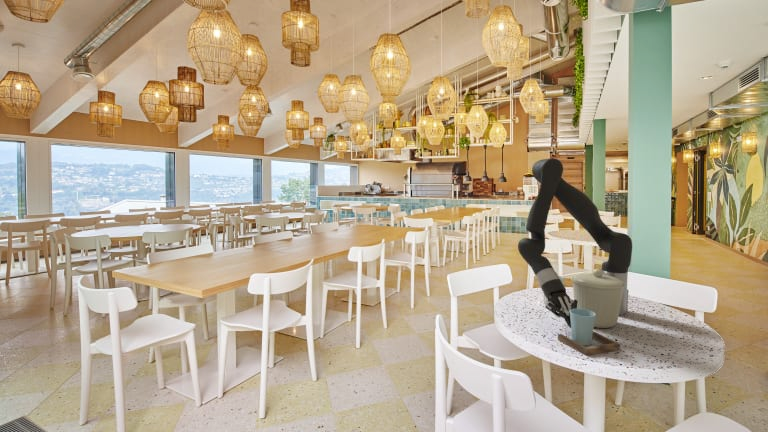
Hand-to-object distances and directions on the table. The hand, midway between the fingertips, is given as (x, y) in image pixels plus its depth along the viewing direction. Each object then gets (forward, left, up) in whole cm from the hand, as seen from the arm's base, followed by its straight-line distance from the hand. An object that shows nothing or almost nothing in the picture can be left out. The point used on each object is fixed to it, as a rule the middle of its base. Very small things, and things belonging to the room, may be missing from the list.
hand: (573, 326), depth 128 cm
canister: (-18, -8, -4) cm, 20 cm away
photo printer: (-20, -33, -4) cm, 39 cm away
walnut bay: (0, +5, -4) cm, 7 cm away
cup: (0, +4, -4) cm, 6 cm away
